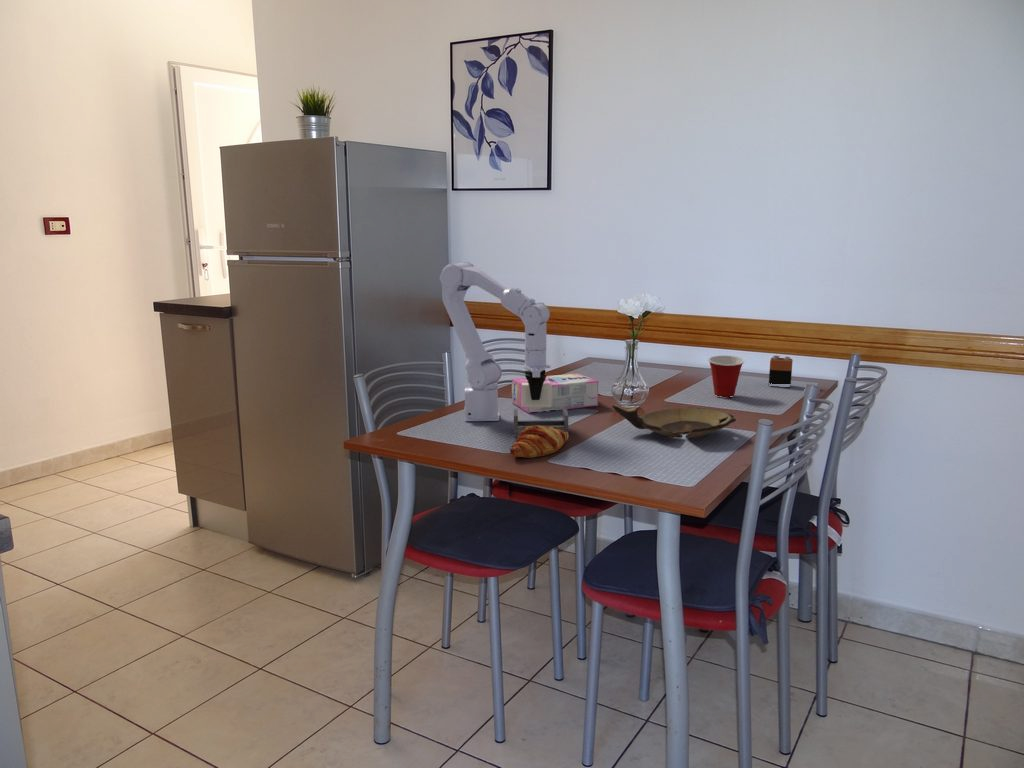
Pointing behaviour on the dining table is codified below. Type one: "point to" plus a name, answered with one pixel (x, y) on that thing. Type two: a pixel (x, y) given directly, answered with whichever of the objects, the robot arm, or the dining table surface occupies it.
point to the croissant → (538, 441)
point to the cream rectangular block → (544, 398)
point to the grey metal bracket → (540, 423)
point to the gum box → (562, 392)
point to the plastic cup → (725, 374)
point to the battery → (780, 370)
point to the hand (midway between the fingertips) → (535, 398)
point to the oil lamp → (679, 421)
